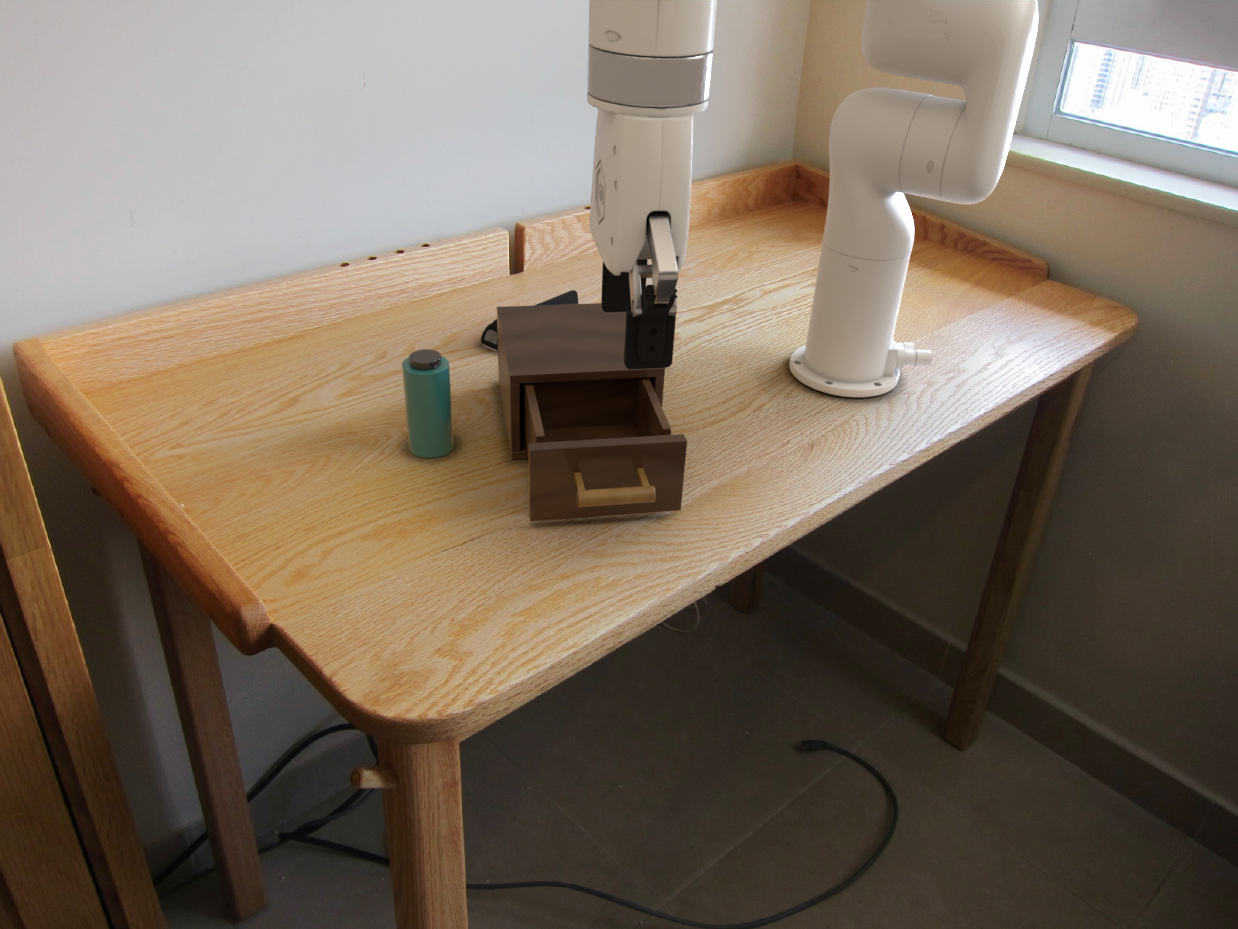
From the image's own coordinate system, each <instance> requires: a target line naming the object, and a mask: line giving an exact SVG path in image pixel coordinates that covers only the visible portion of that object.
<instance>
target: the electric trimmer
mask: <svg viewBox="0 0 1238 929" xmlns="http://www.w3.org/2000/svg"><path fill="white" fill-rule="evenodd" d="M564 304H579V294H578V291H577V290H575V289H572V290H569V291H566V292H564V293H561V294H559V295H557V296H554V297H552V298H549V299H546V300H543V301H542V302H539V303H537V304H533V306H535V305H564ZM480 343H481V345H482V347H485V348H486V349H489V350H492V351H495V352H498V334H497V318H495V319H494V320H493V321H492V322H491V323H489V324H488V325H486V327H485V328H484V330H483V331H482V333H481V336H480Z"/></svg>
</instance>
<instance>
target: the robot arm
mask: <svg viewBox="0 0 1238 929" xmlns="http://www.w3.org/2000/svg"><path fill="white" fill-rule="evenodd" d="M717 9H718V0H588V39H587V42H588V47H587V50H588V51H587V85H586V86H587V88H586V89H587V90H586V91H587V92H586V102H587V104H588V105H590V106H592V107H593V108H597V116H596V126H595V136H594V146H593V147H594V148H593V149H594V150H593V160H592V161H593V163H592V178H591V195H590V207H589V208H590V210H589V230H590V234H591V237H592V239H593V242H594V244H595V246H596V249H597V252H598V254H599V256H600V258H601V261H602V270H601V271H602V273H601V298H600V300H601V302H600V303H601V306H602V309H603V311H604V312H626V325H625V345H624V364H625V366H626V368H627V369H650V368H665V369H668V368H670V367H671V366H672V365H673V357H674V346H675V345H674V344H675V332H676V319H677V309H678V305H677V304H678V302H677V299H678V295H677V293H678V289H677V288H676V286H677V284H678V280H679V272H680V271H681V270H682V269H683V268H684V266H685V262H686V256H687V249H688V241H689V231H690V216H691V203H692V200H691V199H692V179H693V155H694V154H693V153H694V115H697V114H700V113H703V112H705V111H706V110H708V108H709V101H710V100H709V99H710V91H711V90H710V89H711V78H712V68H713V67H712V66H713V58H714V57H713V55H714V45H715V32H716V20H717ZM1038 26H1039V4H1038V0H866V3H865V10H864V17H863V25H862V34H861V50H862V51H861V52H862V55H863V58H864V60H865V62H866V64H867V65H869V66H870V67H871V68H872V69H874V70H877V71H878V72H882V73H885V74H889V75H891V76H892V75H893V76H897V77H902V78H909V79H915V80H922V81H926V82H933V83H939V84H945V85H950V86H951V85H952V86H958V87H959V88H962V89H963V92H964V94H965V100H963V99H957V98H951V97H946V96H945V97H944V96H938V95H933V94H930V93H925V92H918V91H912V90H905V89H899V88H893V87H882V86H881V87H866V88H862V89H858V90H855V91H854V92H852V93H850V94H848V95H847V96H846V97H845V98H844V99H843V100H842V101H841V102H840V104H838V106H837V108H836V110H835V112H834V114H833V117H832V119H831V120H832V121H831V124H830V130H829V137H828V138H829V141H828V143H829V144H828V151H829V152H828V153H829V156H828V158H829V184H828V197H827V198H828V200H827V210H826V217H825V223H824V228H823V235H822V240H821V246H820V247H821V248H820V254H819V260H818V266H817V272H816V278H815V285H814V290H813V291H814V292H813V296H812V304H811V310H810V316H809V323H808V329H807V335H806V342H805V344H804V345H801V346H800V347H797V348H796V349H795V350H794V351H793V352H792V353H791V355H790V357H789V364H788V367H789V370H790V373H791V374H792V375H793V376H794V378H796V380H798V381H799V382H800V383H802V384H803V385H805V386H806V387H808V388H810V389H813V390H815V391H819V392H822V393H824V394H829V395H832V396H838V397H844V398H870V397H876V396H881V395H884V394H886V393H888V392H890V391H892V390H893V389H895V387H896V386H897V385H898V382H899V379H900V376H901V375H900V369H903V367H904V366H913V367H919V368H921V367H923V368H929V367H931V366H932V362H933V352H932V350H930V349H916V343H915V342H908V341H907V342H905V341H904V342H896V341H895V339H894V335H895V331H896V327H897V326H896V325H897V321H898V315H899V311H900V306H901V302H902V299H903V298H902V297H903V292H904V288H905V283H906V278H907V273H908V268H909V264H910V261H911V260H910V259H911V254H912V251H913V247H914V242H915V223H914V222H915V221H914V218H913V215H912V211H911V208H910V205H909V203H908V201H907V198H906V197H905V194H907V195H913V196H917V197H921V198H922V197H923V198H927V199H931V200H936V201H941V202H945V203H951V204H959V205H975V204H979V203H981V202H983V201H985V200H986V199H988V197H989V196H990V195H991V194H992V193H993V192H994V191H995V190H996V187H997V185H998V183H999V181H1000V178H1001V176H1002V174H1003V171H1004V167H1005V164H1006V160H1007V157H1008V154H1009V150H1010V146H1011V142H1012V138H1013V133H1014V130H1015V126H1016V121H1017V117H1018V115H1019V110H1020V105H1021V101H1022V98H1023V93H1024V90H1025V86H1026V82H1027V77H1028V73H1029V70H1030V66H1031V61H1032V59H1033V58H1032V57H1033V53H1034V49H1035V43H1036V38H1037V33H1038V28H1039V27H1038ZM649 260H651V264H648V261H649ZM647 279H651V283H652V284H647Z"/></svg>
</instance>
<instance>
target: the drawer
mask: <svg viewBox="0 0 1238 929" xmlns="http://www.w3.org/2000/svg"><path fill="white" fill-rule="evenodd" d="M522 403H523V436H524V441H525V446H526V451H527V456H528V459H527V461H528V465H527V466H528V515H529V521H530V522H541V521H543V522H544V521H556V520H570V519H581V518H596V517H610V516H624V515H637V514H650V513H651V514H652V513H663V512H664V513H665V512H678V511H679V512H680V511H681V510H682V502H683V492H684V481H685V480H684V479H685V468H686V460H687V458H686V457H687V448H688V447H687V446H688V439H687V437H686V435H685V434H684V433H681V434H680V433H679V434H672V427H671V425H670V423H669V421H668V418H667V416H666V414H665V411H664V409H663V406H662V407H661V404H660V402H659V400H658V398H657V395H656V393H655V391H654V389H653V386H652V384H651V382H650V379H649V377H643V378H622V379H602V380H581V381H561V382H540V383H522Z"/></svg>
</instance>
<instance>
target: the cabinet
mask: <svg viewBox="0 0 1238 929" xmlns="http://www.w3.org/2000/svg"><path fill="white" fill-rule="evenodd" d="M534 305H535V306H534ZM534 305H514V306H511V305H510V306H509V305H507V306H496V319H497V334H498V350H497V357H498V358H497V363H498V364H497V365H498V366H497V367H498V368H497V369H498V386H499V392H500V399H501V405H502V411H503V418H504V422H505V428H506V434H507V440H508V446H509V447H508V448H509V453H510V458H511V460H526V459H527V460H528V456H527V451H526V446H525V441H524V436H523V403H522V383H540V382H561V381H581V380H602V379H622V378H643V377H649V379H650V382H651V384H652V386H653V389H654V391H655V393H656V395H657V398H658V400H659V402H660V404H661V407H662V408H663V400H664V387H665V376H666V375H665V374H666V368H650V369H627V368H626V366H625V364H624V345H625V325H626V312H604V311H603V309H602V306H601V302H599V303H598V302H597V303H594V302H592V303H578V304H564V305H536V304H534Z"/></svg>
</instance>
